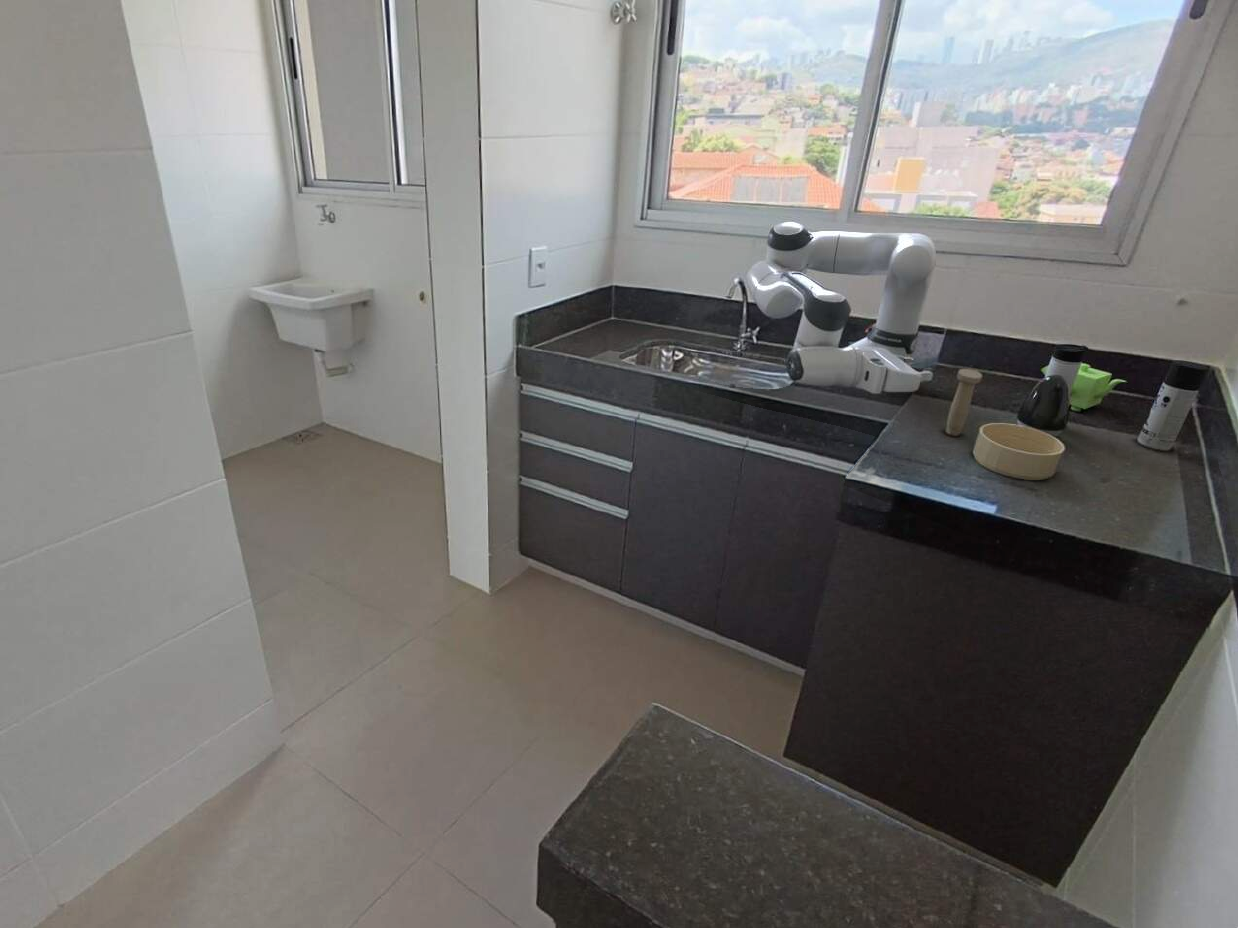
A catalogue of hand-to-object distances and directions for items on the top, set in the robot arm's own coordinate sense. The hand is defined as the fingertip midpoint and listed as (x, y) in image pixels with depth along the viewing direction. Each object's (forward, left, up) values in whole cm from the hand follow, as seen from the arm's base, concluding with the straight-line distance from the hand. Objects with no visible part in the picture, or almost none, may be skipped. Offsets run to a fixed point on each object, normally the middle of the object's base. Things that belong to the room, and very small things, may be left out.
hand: (921, 368), depth 152 cm
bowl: (+23, +3, -16) cm, 28 cm away
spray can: (+43, +41, -16) cm, 62 cm away
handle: (+8, +9, -16) cm, 20 cm away
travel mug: (+21, +35, -16) cm, 44 cm away
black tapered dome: (+22, +24, -16) cm, 36 cm away
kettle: (+22, +55, -16) cm, 61 cm away
